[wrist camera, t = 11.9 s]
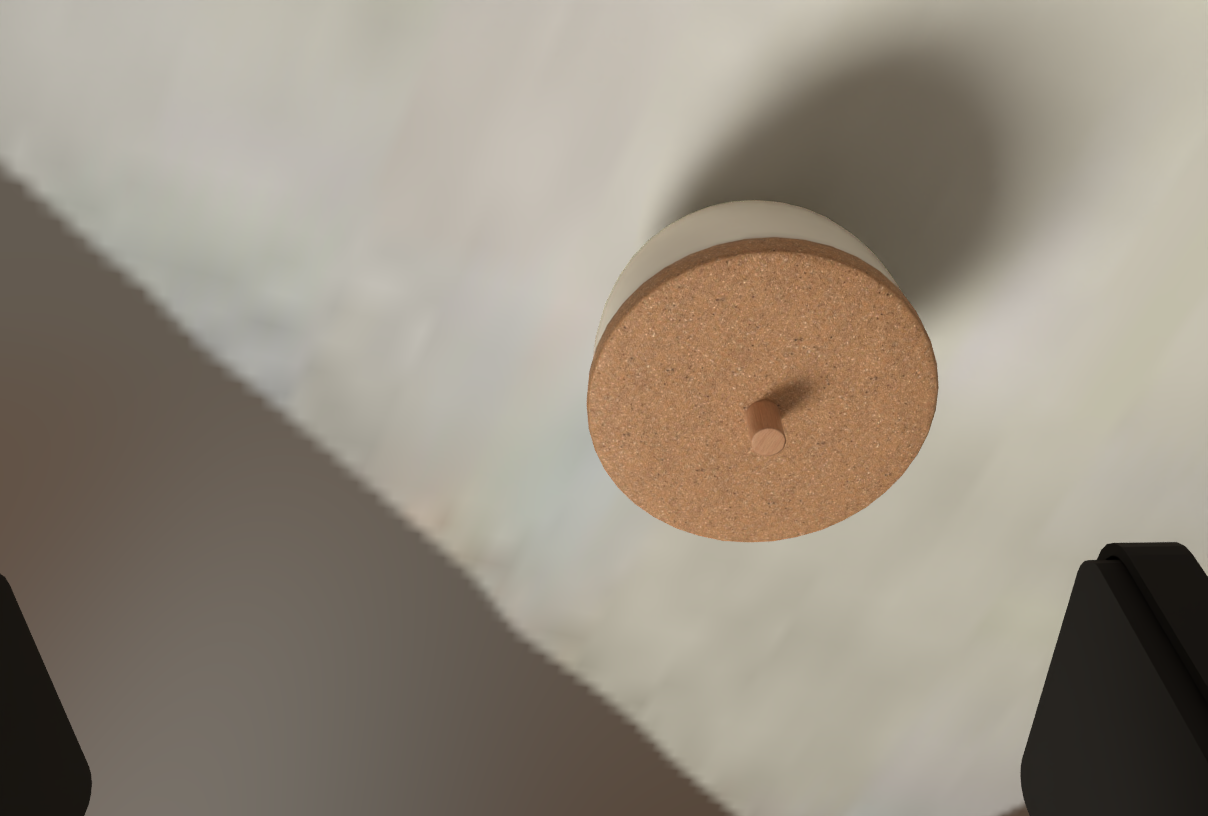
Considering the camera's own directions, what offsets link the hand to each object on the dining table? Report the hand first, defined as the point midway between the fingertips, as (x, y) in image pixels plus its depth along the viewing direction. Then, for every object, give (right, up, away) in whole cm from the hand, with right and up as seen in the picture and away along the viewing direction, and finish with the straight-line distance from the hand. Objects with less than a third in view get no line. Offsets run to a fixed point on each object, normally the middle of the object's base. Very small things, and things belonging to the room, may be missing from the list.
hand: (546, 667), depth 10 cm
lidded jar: (+5, +7, +30) cm, 31 cm away
